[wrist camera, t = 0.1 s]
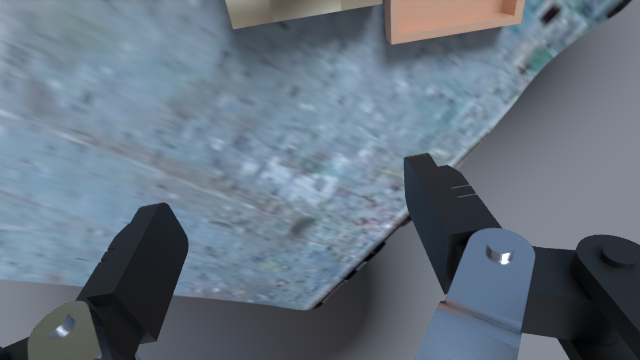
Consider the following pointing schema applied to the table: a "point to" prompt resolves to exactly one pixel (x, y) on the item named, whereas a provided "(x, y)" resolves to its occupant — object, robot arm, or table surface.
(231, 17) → the block
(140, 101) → the table surface
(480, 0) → the tray
